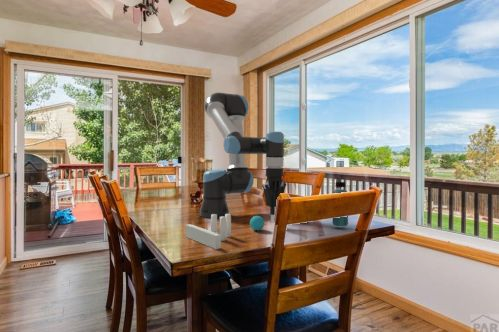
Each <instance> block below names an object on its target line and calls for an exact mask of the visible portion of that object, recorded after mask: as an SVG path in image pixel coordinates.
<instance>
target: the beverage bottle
mask: <svg viewBox="0 0 499 332" xmlns="http://www.w3.org/2000/svg"><path fill="white" fill-rule="evenodd" d="M334 186H335V187H336V188H338V189H334V190H333V192H332V194H333V193H341V192H348V191H347V190H346V189H343V188H346V181H336V182H335V185H334ZM339 188H342V189H339ZM332 225H333V226H336V227H347V226H348V225H349V215H348V216H347V217H340V218H332Z"/></svg>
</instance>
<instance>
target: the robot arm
mask: <svg viewBox="0 0 499 332" xmlns="http://www.w3.org/2000/svg"><path fill="white" fill-rule="evenodd" d="M204 102H205V103H204V110H205V112H206V115H207V116H208V117H209V118H210V119H212V121H213V122H214V124H215V126H216V127H217V130H218V131H219V132H220V134H221V135H222V137H223V139H224V140H223V147H224V148H223V150H224V151H225V153H226V154H228V160H229V161H228V163H229V165H228V167H227V168H226V169H225V168H221V169H220V168H219V169H211V170H207V171H205V172H204V173H203V177H202V203H201V206H200V209H199V216H200V217H202V218H208V219H211V215H212V214H217V219H218V218H219V219H220V217H222V216H224V217H225V214H230V209H229V206H228V203H227V195H231V194H232V195H233V194H245V193H246V194H247V193H249V192H250V191H251V190H252V188H253V185H254V180H255V179H254V174H253V172H252V171H250V170H249V166H247V165H246V155H266V156H265V166H266V168H265V177H266V178H267V179H266V182H265V183H262V185H261V187H262V189H263V192H264V199H265V204H266V205H265V206H267V207H269V214H270V222H271V223H275V222H274V215H275V209H276V199H277V197H278V196H279V194H280V193H284V194H285V189H286V187H287V183H286V182H284V181H283V177H284V168H283V167H284V147H285V145H284V144H285V139H284V133H283V132H282V131H267V132H266V134H265V135H266V136H265V137H255V136H254V137H253V136H251V137H250V136H244V128H243V125H244V124H243V122H244V120H245V119H246V117H247V115H248V113H249V102H248V100H247V98H246V97H245V96H244V95H242V94H241V95H240V94H237V93H233V94H232V93H224V92H214V93H211V94H210V95H209V96H208V97H207V99H205V101H204Z"/></svg>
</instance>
